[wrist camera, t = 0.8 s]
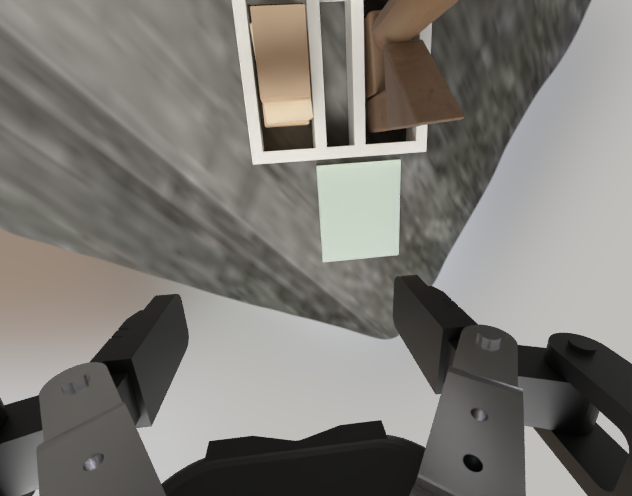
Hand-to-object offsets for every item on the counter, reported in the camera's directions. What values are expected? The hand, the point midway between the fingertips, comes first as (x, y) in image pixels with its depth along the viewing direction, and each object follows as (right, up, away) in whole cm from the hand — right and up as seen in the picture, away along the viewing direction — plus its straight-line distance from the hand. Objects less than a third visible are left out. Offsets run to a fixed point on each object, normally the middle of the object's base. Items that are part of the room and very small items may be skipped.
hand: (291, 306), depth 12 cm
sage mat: (+6, +7, +27) cm, 29 cm away
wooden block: (+8, +21, +23) cm, 32 cm away
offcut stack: (-3, +20, +22) cm, 30 cm away
